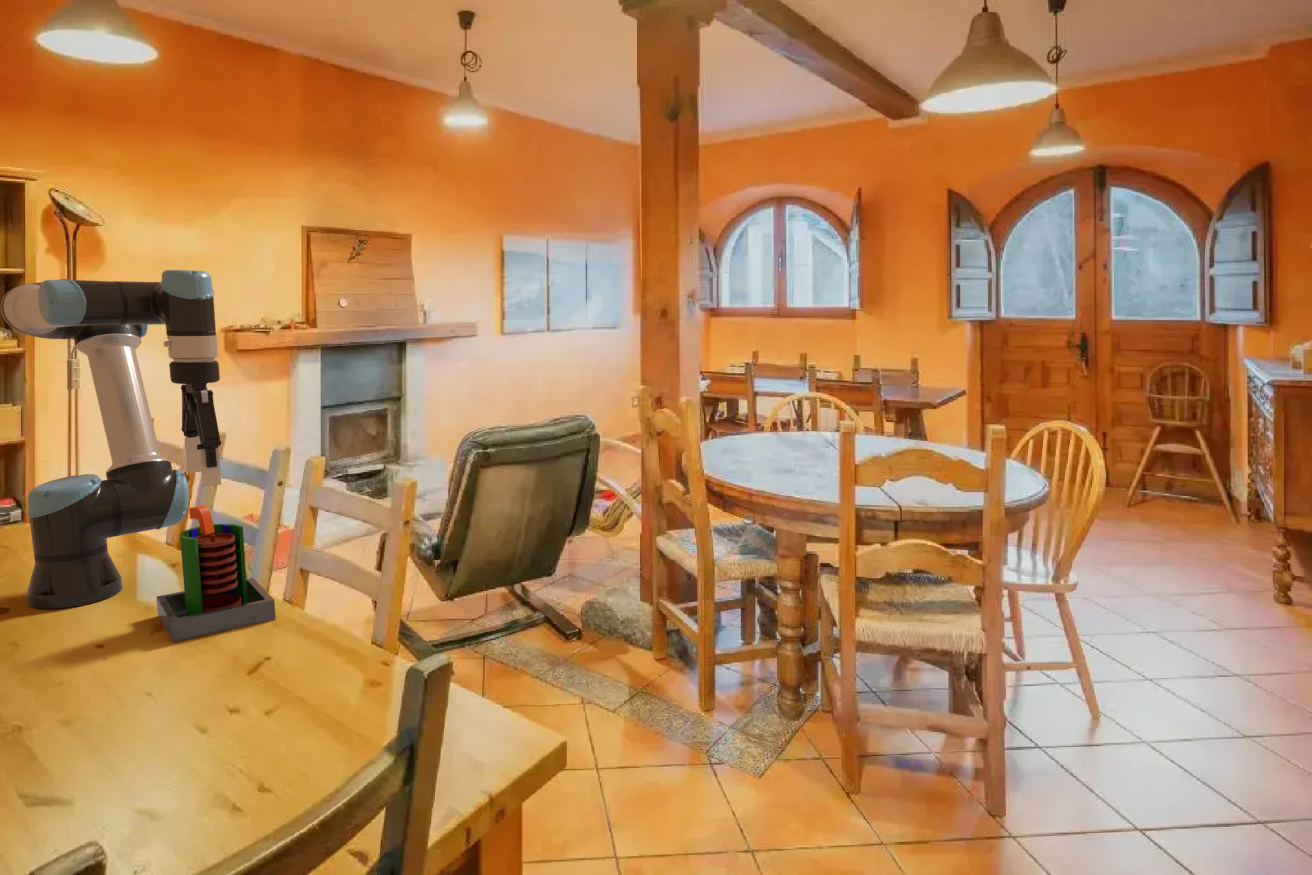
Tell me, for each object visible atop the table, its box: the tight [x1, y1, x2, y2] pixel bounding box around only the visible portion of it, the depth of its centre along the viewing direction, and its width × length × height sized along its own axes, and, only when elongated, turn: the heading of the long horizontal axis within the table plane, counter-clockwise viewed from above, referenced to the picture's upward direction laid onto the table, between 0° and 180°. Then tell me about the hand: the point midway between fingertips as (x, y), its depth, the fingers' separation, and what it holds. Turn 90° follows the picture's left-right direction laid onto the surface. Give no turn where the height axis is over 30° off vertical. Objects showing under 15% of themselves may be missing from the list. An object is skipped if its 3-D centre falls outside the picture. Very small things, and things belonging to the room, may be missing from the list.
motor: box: [179, 505, 248, 616], centre depth 145 cm, size 10×9×20 cm
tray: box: [156, 577, 277, 644], centre depth 146 cm, size 15×16×4 cm
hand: (204, 478), depth 142 cm, fingers open, 13 cm apart
